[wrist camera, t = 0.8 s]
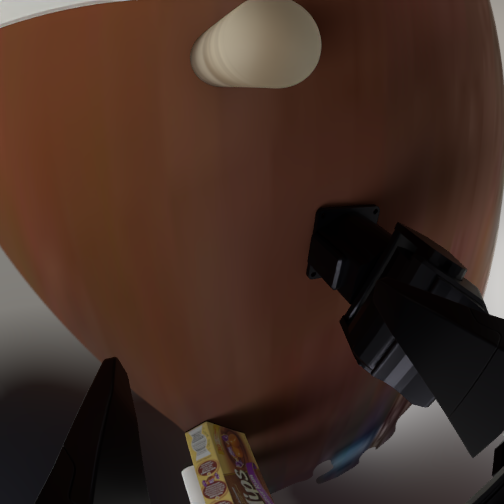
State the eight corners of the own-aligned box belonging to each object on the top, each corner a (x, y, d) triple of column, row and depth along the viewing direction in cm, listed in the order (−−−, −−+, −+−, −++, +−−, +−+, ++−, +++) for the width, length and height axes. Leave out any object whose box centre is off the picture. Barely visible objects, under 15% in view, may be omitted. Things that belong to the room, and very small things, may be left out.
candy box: (181, 433, 34) (215, 538, 22) (205, 419, 34) (246, 528, 22) (223, 445, 39) (258, 532, 27) (245, 433, 39) (286, 522, 27)
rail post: (255, 30, 16) (323, 6, 9) (251, 88, 18) (317, 93, 11) (191, 26, 15) (228, -11, 8) (188, 87, 16) (221, 85, 10)
